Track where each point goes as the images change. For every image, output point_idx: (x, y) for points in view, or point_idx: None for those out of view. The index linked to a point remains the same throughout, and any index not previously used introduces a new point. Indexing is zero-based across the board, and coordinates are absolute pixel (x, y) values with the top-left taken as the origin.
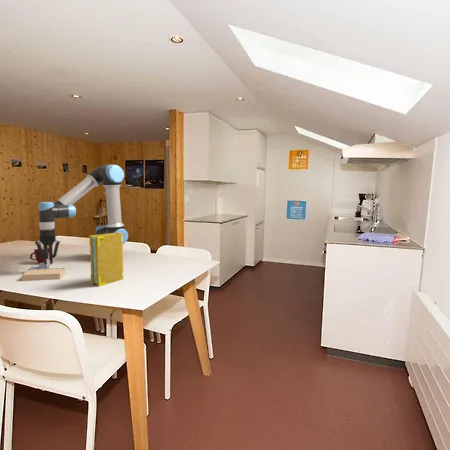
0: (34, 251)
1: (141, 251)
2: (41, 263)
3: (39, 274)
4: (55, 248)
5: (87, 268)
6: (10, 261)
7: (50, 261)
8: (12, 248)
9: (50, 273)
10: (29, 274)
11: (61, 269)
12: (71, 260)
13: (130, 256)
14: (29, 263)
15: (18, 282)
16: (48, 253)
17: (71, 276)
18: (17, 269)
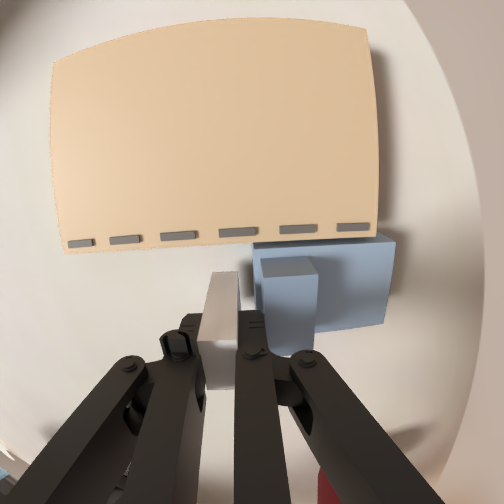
0: None
1: None
2: (300, 313)
3: (212, 20)
4: (56, 463)
5: (38, 343)
6: (444, 440)
7: (195, 331)
8: None
9: (120, 51)
10: (311, 31)
11: (73, 202)
12: (216, 481)
13: (37, 454)
14: None
15: (351, 15)
16: (318, 500)
17: (29, 145)
18: (439, 358)
